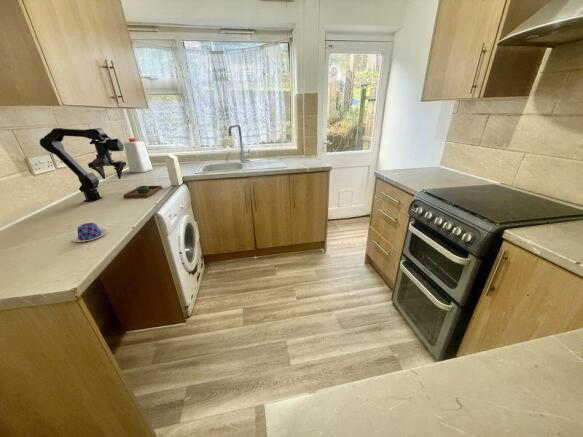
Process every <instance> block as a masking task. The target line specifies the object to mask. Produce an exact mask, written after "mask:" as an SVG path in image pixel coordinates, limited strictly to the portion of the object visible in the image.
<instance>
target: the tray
mask: <svg viewBox="0 0 583 437" xmlns="http://www.w3.org/2000/svg"><path fill="white" fill-rule="evenodd" d="M148 186H149V190H150V192H148V193H143V194H139V193H138V191H137V187H136V188H134V189H131V190H129V191H128V192H126V193H124V194H123V195H122V196H123V198H124V199H136V198H137V199H138V198H140V199H141V198H143V199H144V198H149V197H151V196H153V195H154V194H156V193H158V192H159V191H161V190H162V189H163V185H148Z"/></svg>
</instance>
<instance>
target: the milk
mask: <svg viewBox="0 0 583 437" xmlns="http://www.w3.org/2000/svg"><path fill="white" fill-rule="evenodd" d="M164 161H165V165H166V166H165V167H166V169H167V175H168V179H169V183H170V186H171V187H172V186H181V185H182V184H183V183H184V182H183V178H182V177H183V176H182V172H181V168H180V163H179V158H178V156H176V155H174V154H173V152H169V153H168V154H167V156H166V157H165V158H164Z"/></svg>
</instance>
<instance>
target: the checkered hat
mask: <svg viewBox="0 0 583 437" xmlns="http://www.w3.org/2000/svg"><path fill="white" fill-rule="evenodd" d="M76 230H77V234H75V235H74V236H73V237H72V238H71V241H72V242H75V243H84V242H88V241H89V242H90V241H93V240H96V239H98V238H101V237H103V236H104V235H106V234H107V233H108V229H107V228H99V226H98V225H97V224H96V223H95V222H86V223H83V224H80V225H79V226H77V229H76Z"/></svg>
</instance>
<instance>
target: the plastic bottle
mask: <svg viewBox="0 0 583 437" xmlns="http://www.w3.org/2000/svg"><path fill="white" fill-rule="evenodd" d="M123 147H124V150H125V155H126V159H127V165H128V168H129V172H130V173H137V174H142V173H147V172H150V171H152V170H153V169H154V168H153V165H152V163H151V159H150V156H149V153H148V150H147V147H146V144H145V142H144V141H139V140H138V138H136V137H131V138H128V141H127V142H124V144H123Z"/></svg>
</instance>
